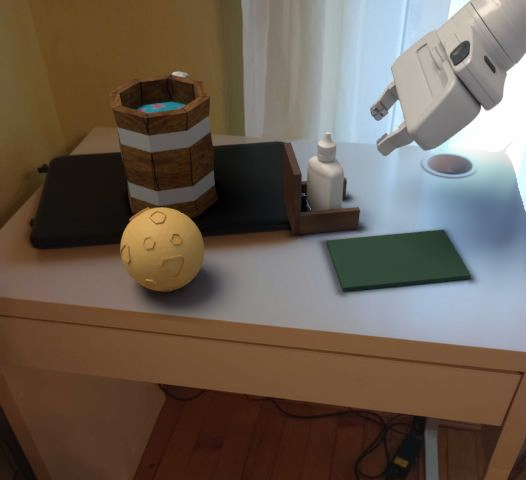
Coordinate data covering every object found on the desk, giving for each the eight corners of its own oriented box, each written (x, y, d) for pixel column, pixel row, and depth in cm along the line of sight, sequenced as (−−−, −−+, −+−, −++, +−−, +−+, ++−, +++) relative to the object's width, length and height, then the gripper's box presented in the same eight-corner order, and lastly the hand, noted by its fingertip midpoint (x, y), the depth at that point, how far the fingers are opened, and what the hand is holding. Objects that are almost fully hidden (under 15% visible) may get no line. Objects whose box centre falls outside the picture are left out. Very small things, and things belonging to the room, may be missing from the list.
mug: (208, 225, 87) (198, 120, 77) (114, 219, 89) (91, 115, 78) (233, 156, 101) (227, 59, 90) (151, 152, 102) (136, 56, 92)
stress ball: (152, 252, 83) (141, 183, 76) (220, 268, 80) (215, 199, 73) (112, 297, 76) (95, 227, 69) (184, 317, 74) (174, 246, 67)
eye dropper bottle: (310, 226, 86) (313, 144, 78) (305, 204, 90) (307, 124, 82) (342, 224, 87) (348, 142, 78) (335, 202, 91) (340, 122, 82)
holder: (344, 195, 92) (349, 137, 86) (358, 229, 86) (364, 168, 79) (283, 201, 91) (283, 142, 85) (292, 235, 85) (294, 174, 79)
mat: (443, 233, 85) (444, 229, 84) (470, 279, 78) (471, 275, 77) (326, 243, 84) (326, 240, 83) (342, 291, 76) (342, 287, 76)
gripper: (440, 2, 79) (354, 81, 86) (472, 66, 65) (366, 154, 72) (468, 39, 82) (383, 112, 89) (505, 108, 68) (400, 189, 75)
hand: (376, 131), depth 81 cm, fingers open, 8 cm apart
